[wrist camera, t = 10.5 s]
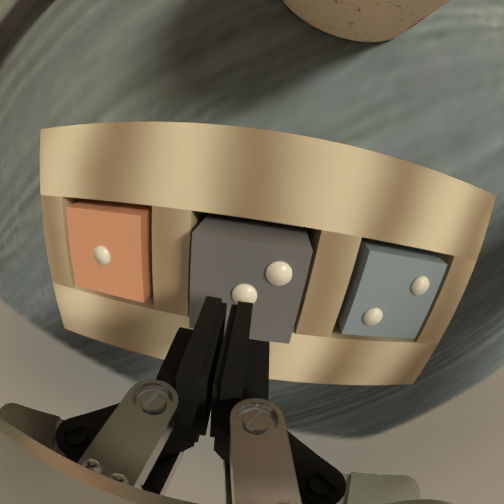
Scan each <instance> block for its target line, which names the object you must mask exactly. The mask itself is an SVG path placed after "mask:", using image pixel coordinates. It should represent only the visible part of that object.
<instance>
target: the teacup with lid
mask: <svg viewBox="0 0 504 504" xmlns="http://www.w3.org/2000/svg"><path fill="white" fill-rule="evenodd" d="M450 1H451V0H283V2H284V3H285V4H286V5H287V6H288V8H289V9H290V10H292V11H293V12H294V13H295V14H296V15H297V16H299V17H300V18H301V19H303V20H304V21H305V22H307V23H309V24H310V25H312V26H314V27H316V28H318V29H320V30H322V31H324V32H326V33H329V34H331V35H334V36H337V37H340V38H344V39H348V40H354V41H361V42H380V41H386V40H390V39H393V38H396V37H398V36H400V35H401V34H403V33H404V32H406V31H407V30H409V29H410V28H411V27H413V26H414V25H416V24H417V23H418V22H420V21H421V20H423V19H424V18H426V17H427V16H428V15H430V14H431V13H433V12H434V11H436V10H437V9H439V8H440V7H442V6H443V5H445V4H447V3H448V2H450Z"/></svg>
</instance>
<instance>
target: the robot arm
mask: <svg viewBox="0 0 504 504" xmlns="http://www.w3.org/2000/svg"><path fill="white" fill-rule="evenodd" d="M252 309H253V303H249V302H242V301H238V304H237V305H235V304H231V309H230V313H229V317H228V321H227V326H226V330H225V320H226V310H227V303H223V302H222V298H217V297H211V296H206V299H205V301H204V304H203V306H202V309H201V311H200V314H199V316H198V319H197V322H196V324H195V327H194V329H188V328H183V327H180V328H179V329H178V331H177V333H176V335H175V337H174V339H173V341H172V344H171V346H170V348H169V350H168V353H167V355H166V357H165V359H164V362H163V364H162V366H161V369H160V371H159V373H158V375H157V378H156V380H154V379H148V380H144V381H140V382H138V383H136V384H135V385H134V386H133V387H132V388H131V389H130V390H129V391H128V393H127V394H126V395H125V397H124V398H123V400H122V401H121V402H120V403H118V404H115V405H112V406H109V407H106V408H103V409H100V410H96V411H93V412H90V413H87V414H83V415H80V416H76V417H73V418H69V419H67V420H61V419H60V417H59V416H55V415H52V414H48V413H45V412H41V411H38V410H34V409H31V408H28V407H25V406H22V405H19V404H16V403H8V404H5V405H4V406H3V407H1V409H0V504H197V503H192V502H187V501H183V500H178V499H174V498H170V497H166V496H164V494H165V492H166V490H167V488H168V485H169V484H170V481H171V479H172V477H173V475H174V473H175V471H176V469H177V467H178V465H179V462H180V460H181V458H182V456H183V452H184V450H186V449H188V448H190V447H193V446H194V443H195V442H198V439H199V435H204V436H205V434H206V430H207V426H208V421H209V416H210V412H211V428H210V437H215V442H214V450H215V451H216V453H217V454H218V455H219V456H220V457H221V458H222V459H223V460H224V461H223V469H224V490H225V504H452V503H449V502H445V501H441V500H432V499H420V490H419V485H418V483H417V482H416V480H415V479H413V478H411V477H409V476H404V475H377V474H366V473H355V472H351V474H344V473H340V472H339V471H338V470H337V469H336V468H335V467H333V466H332V465H330V464H329V463H328V462H326V461H325V460H324V459H322V458H320V456H318V455H317V454H316V453H314V452H313V451H312V450H311V449H309V448H308V447H307V446H306V445H304V444H303V443H302V442H301V441H299V440H298V439H297V438H296V437H294V436H293V435H292V434H291V433H290V432H288V431H287V428H286V424H285V419H284V416H283V413H282V411H281V410H280V409H279V408H278V406H277V405H275V404H273V403H272V402H270V401H268V388H269V353H270V342H269V341H262V340H255V339H249V335H250V326H251V317H252ZM224 330H225V334H224ZM211 407H212V408H211Z"/></svg>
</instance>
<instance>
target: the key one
mask: <svg viewBox="0 0 504 504" xmlns="http://www.w3.org/2000/svg"><path fill="white" fill-rule="evenodd" d="M66 215H67V227H68V237H69V246H70V253H71V260H72V267H73V273H74V279H75V284H76V286H80V287H83V288H87V289H90V290H94V291H98V292H102V293H106V294H109V295H113V296H117V297H121V298H125V299H130V300H134V301H138V302H142V303H145V301H146V300H147V298H148V297H149V296H150V294H151V293H152V292H153V275H152V206H151V205H142V204H133V203H124V202H114V201H104V200H94V199H83V200H81V201H79V202H76V203H74V204H72V205H69V206H67V207H66Z"/></svg>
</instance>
